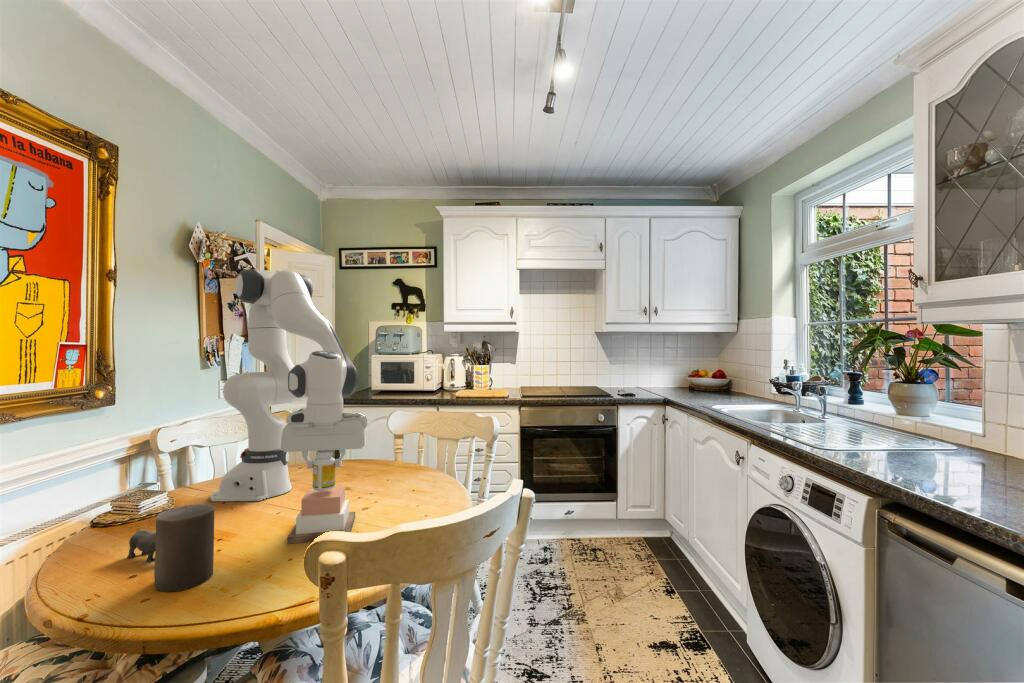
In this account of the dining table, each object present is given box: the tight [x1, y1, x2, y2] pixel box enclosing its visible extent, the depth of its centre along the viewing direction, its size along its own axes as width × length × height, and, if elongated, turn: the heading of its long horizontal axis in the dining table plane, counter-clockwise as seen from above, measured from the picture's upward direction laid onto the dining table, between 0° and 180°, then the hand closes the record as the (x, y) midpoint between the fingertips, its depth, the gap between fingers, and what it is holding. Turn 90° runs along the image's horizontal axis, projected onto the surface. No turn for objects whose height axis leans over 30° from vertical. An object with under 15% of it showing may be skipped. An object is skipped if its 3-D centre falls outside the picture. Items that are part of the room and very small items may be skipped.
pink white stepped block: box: [295, 485, 350, 534], centre depth 115 cm, size 11×11×8 cm
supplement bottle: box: [312, 450, 336, 491], centre depth 115 cm, size 5×5×10 cm
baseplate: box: [286, 511, 356, 545], centre depth 115 cm, size 14×14×2 cm
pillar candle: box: [153, 503, 215, 593], centre depth 90 cm, size 10×10×15 cm
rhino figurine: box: [126, 529, 156, 563], centre depth 99 cm, size 4×14×6 cm, turn 75°
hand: (324, 467), depth 115 cm, fingers closed on supplement bottle, 5 cm apart
